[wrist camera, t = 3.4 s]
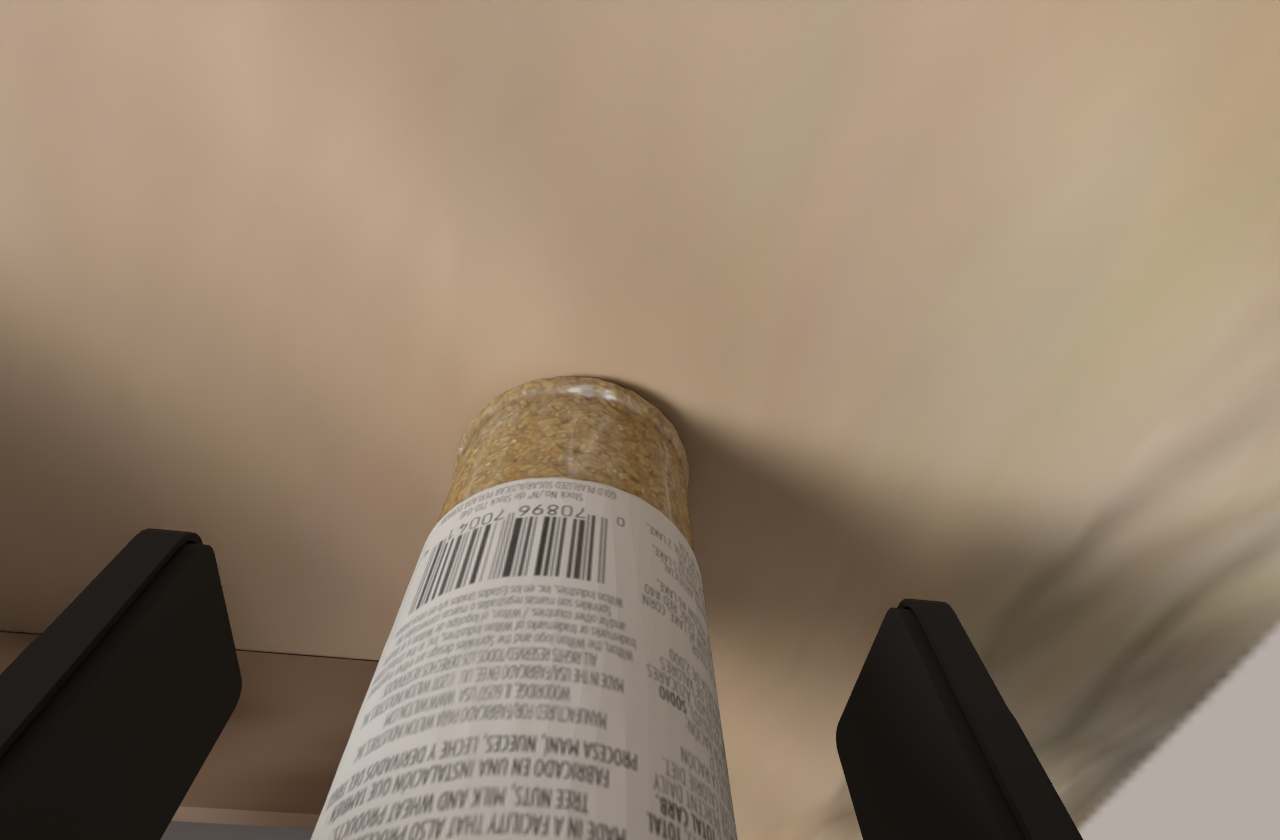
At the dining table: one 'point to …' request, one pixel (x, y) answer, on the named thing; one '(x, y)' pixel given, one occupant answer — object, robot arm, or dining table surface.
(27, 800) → the robot arm
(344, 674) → the walnut plinth
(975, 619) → the dining table surface
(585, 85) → the dining table surface
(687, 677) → the spice jar
